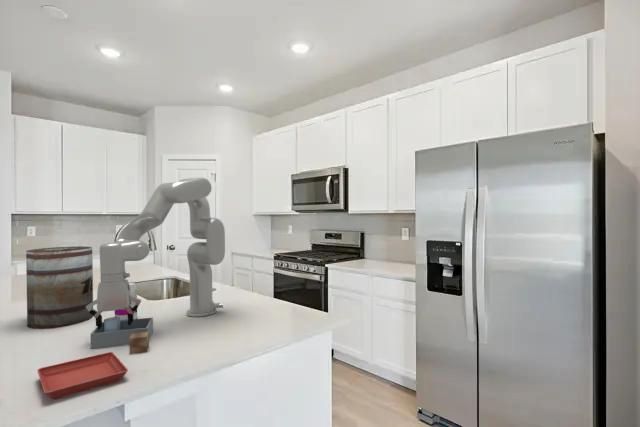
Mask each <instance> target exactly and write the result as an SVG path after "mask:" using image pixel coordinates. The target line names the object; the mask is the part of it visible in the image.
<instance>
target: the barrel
mask: <svg viewBox="0 0 640 427" xmlns="http://www.w3.org/2000/svg"><path fill="white" fill-rule="evenodd" d="M25 259H26V262H25V263H26V265H25V266H26V270H25V272H26V322H27V323H26V324H27V325H26V327H27V328H28V329H33V330H49V329H59V328H64V327H70V326H73V325H79V324H81V323H85V322H87V321H89V320H91V319H92V318H93V317H94V316H93V315H91V314H90V313H89V311H88V310H87V309H86V306H87V305H88V304H90V303H91V302H93V301H94V281H93V280H94V277H93V276H94V271H93V268H94V266H93V265H94V264H93V263H94V262H93V259H94V258H93V247H92V246H83V245H82V246H81V245H79V246H56V247H44V248H34V249H33V248H32V249H28V250H26V251H25ZM92 308H93V309H94V306H92Z"/></svg>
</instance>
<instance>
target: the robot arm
mask: <svg viewBox="0 0 640 427" xmlns="http://www.w3.org/2000/svg"><path fill="white" fill-rule="evenodd" d="M211 192H212V183H211V182H210V180H208V179H207V178H205V177H192V178H191V177H190V178H182V179H179V180H178V181H175V182H173V181H171V182H163V183H161V184H159V185H158V186H157V187H156V189H155V190H154V191H153V193H152V195H151V197H150V199H149V200H148V202H147V204H145V206H144V208H143V210H142V212H140V213H139V215H137V216H136V217H135V218H134V219H132V220H131V222H129V223H127V225H126V226H125V227H124V228H123V229H122V230H121V232H120V234H119V235H118V237H117V238H116V241H115V242H106V243H102V244H101V245H99V267H100V282H98V285H97V293H96V294H97V295H96V297H97V298H96V299H95V300H93V302H91V303H90V304H88V305H87V306H86V309H87V310H88V311H89V313H90V314H91V315H93V317H94V318H95V327H97V326H98V329H100V328H101V327H102V322H103V316H102V315H101V314H102V313H104V312H111V311H113V312H115V310H123V309H125V310H126V311H127V312H128V313H129V314H128V325H131V323H132V322H133V312H134V311H135V310H136V309H137V310H138V308H139V306H140V305H141V302H142V299H140V298H138V297H137V298H135V297H133V296H131V293H130V286H129V283H130V282H129V279H127V278H131V277H130V276H131V275H130V272H129V273H128V272H127V271H126V262H138V261H142V260H144V259H146V258H147V256H148V255H149V254H150V247H149V245H148V244H147V243H146V242H145V241H142V240H140V239H141V238H142V236H144V235H145V234H146V233H148V232H149V231H151V230H153V229H155V228H157V227H160V225H162V224H163V223H164V221H165V220H166V219H167V216H168V214H169V213H170V211H171V209H172V207H173V206H174V204H184V203H187V205H188V210H189V232H190V235H191V237H192V238H195V239H197V240H206V241H197V242H193V243H192V244H190V245H189V247H188V248H187V251H186V257H187V260H188V266H189V309H188V310H186V312H185V313H186V316H188V317H193V318H194V317H195V318H198V317H199V318H200V317H206V316H212V315H214V314H215V313H216V312H217V309H219V308H220V309H221V308H222V309H223V308H224V303H223V302H221V303H220V302H217V303H215V302H214V300H213V269H212V266H213V265H214V266H216V265H219V264H221V263H222V262H223V260H224V259H225V255H226V235H225V234H226V233H225V231H226V230H225V229H226V228H225V225H224V223H223V222H222V220H220V219H219V218H217V217H211V208H210V203H209V201H208V199H207V198H208V197H209V195H210V194H211ZM148 257H149V256H148ZM211 265H212V266H211ZM131 301H133V302H136V304H135V306H134V307H133V308H132V307H131V306H130V305H131ZM95 305H96V309H97V310H95V309H94V306H95ZM92 306H93V308H92Z"/></svg>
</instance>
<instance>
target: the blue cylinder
mask: <svg viewBox="0 0 640 427" xmlns="http://www.w3.org/2000/svg"><path fill="white" fill-rule="evenodd" d="M103 322H104V332H109V331H119V330H120V317H115V316H112V317H111V316H110V317H107V318H105V319H103Z"/></svg>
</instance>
